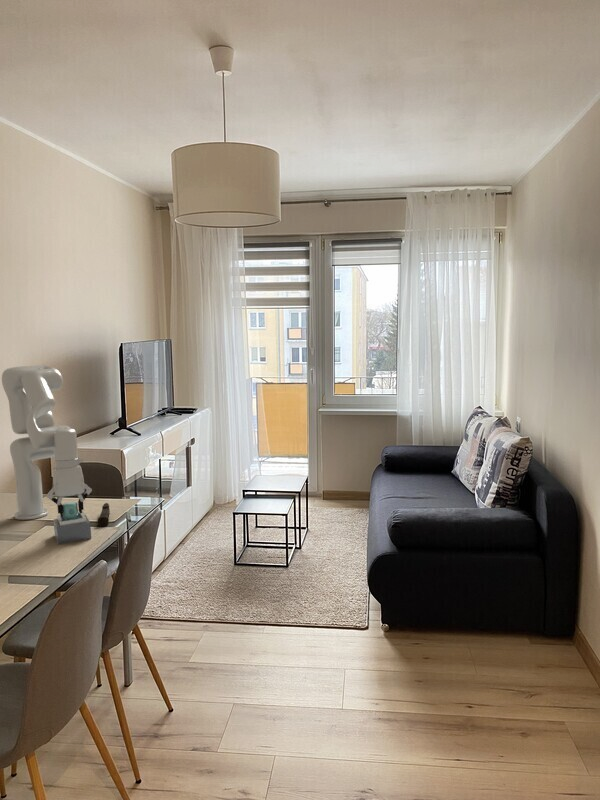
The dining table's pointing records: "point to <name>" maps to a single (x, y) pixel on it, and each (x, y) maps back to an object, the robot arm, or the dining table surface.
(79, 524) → the grey plastic box
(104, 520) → the hand tool
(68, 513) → the teal toy block
